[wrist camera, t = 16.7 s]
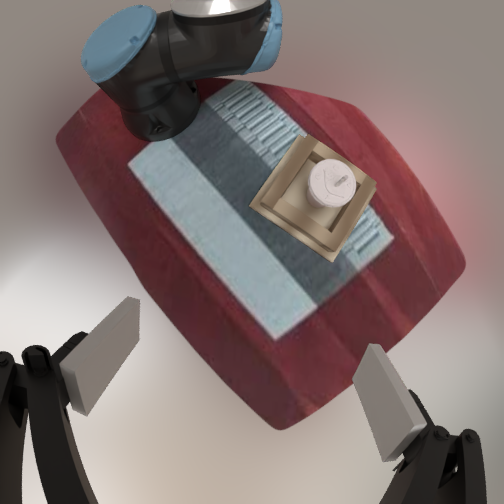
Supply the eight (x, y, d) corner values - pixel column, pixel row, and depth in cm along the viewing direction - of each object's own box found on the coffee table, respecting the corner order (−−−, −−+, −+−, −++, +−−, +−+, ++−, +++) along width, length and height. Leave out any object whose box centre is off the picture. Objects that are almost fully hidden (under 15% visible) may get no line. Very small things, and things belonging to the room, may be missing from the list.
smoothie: (311, 223, 43) (336, 210, 29) (290, 188, 43) (305, 160, 29) (343, 204, 43) (379, 184, 29) (323, 170, 43) (349, 138, 29)
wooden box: (249, 207, 44) (248, 201, 39) (298, 137, 44) (302, 124, 39) (330, 262, 44) (339, 263, 39) (373, 190, 44) (386, 183, 38)
